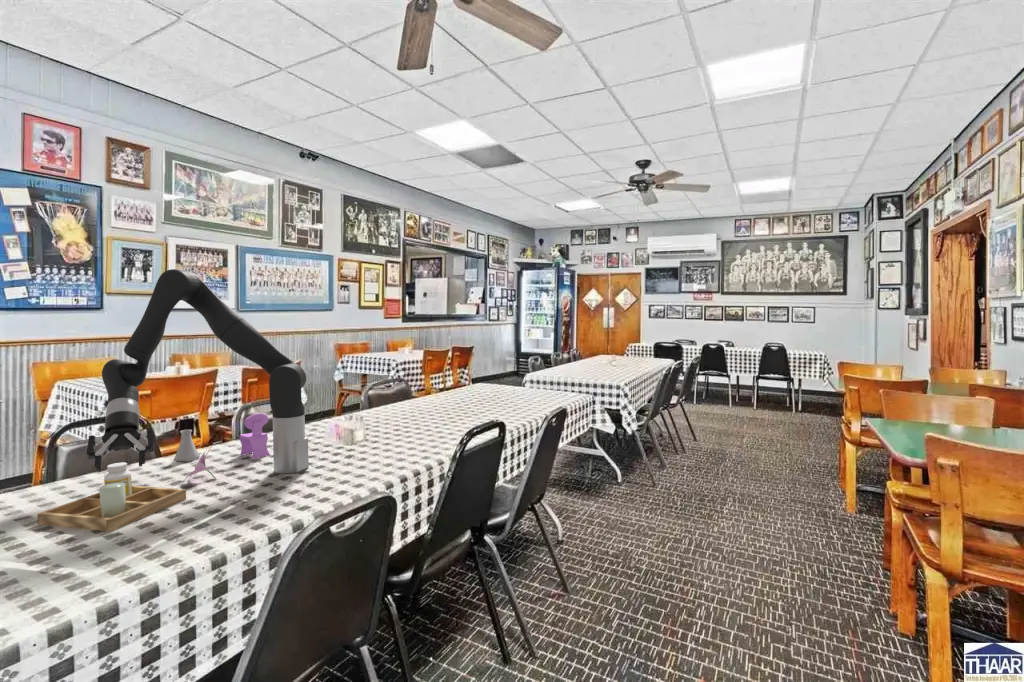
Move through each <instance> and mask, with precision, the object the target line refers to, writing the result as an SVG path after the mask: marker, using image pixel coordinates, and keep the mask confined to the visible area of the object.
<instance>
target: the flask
mask: <svg viewBox="0 0 1024 682" xmlns="http://www.w3.org/2000/svg"><path fill="white" fill-rule="evenodd" d="M179 432H180V435H181V436H180V443H179V445H178V448H177V450H176V453H175V455H174V458H173V460H174V462H176V461H187V462H191V461H194V460H195V459H196V460H198V459H200V458H201V455H200V454H199V451H198V450H197V448H196V446H195V443H194V441H193V438H192V432H193V430H192V429H183V430H180V431H179ZM199 457H200V458H199ZM190 460H191V461H190Z"/></svg>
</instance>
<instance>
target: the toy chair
mask: <svg viewBox="0 0 1024 682" xmlns="http://www.w3.org/2000/svg"><path fill="white" fill-rule="evenodd" d="M268 422H269V416H268V414H265V413H262V412H258V413H253V414H251V415H249V416H248V417H246V418H245V419H244V421H243V424H244V425H245V427H246V428H247V429H249V430H250V431H251V432H249V433H242V434H239V442H240V444H241V450H240V454H239V455H241V456H244V455H243V454H246V455H248V454H247V453H251V455H252V456H251V460H254V459H253V458H256V459H258V458H257V457H260V458H263V457H262V456H264V457H267V456H266V455H269V456H271V454H270V452H269V450H268V448H267V443H268V440H269V437H268V433H266V432H263V427H264V426H265V425H267V423H268ZM252 452H253V453H252Z"/></svg>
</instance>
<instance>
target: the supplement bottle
mask: <svg viewBox="0 0 1024 682" xmlns="http://www.w3.org/2000/svg"><path fill="white" fill-rule="evenodd" d="M127 469H128V463H127V462H123V461H122V462H116V463H111V464H108V465H107V466H106V471H107V474H105V475H104V477H103V478H104V479H103V481H104V485H108V484H113V483H125V495H126V496H129V495H131V494H132V486H133V485H132V484H133V483H132V482H133V481H132V472H130V471H129V470H127Z"/></svg>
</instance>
